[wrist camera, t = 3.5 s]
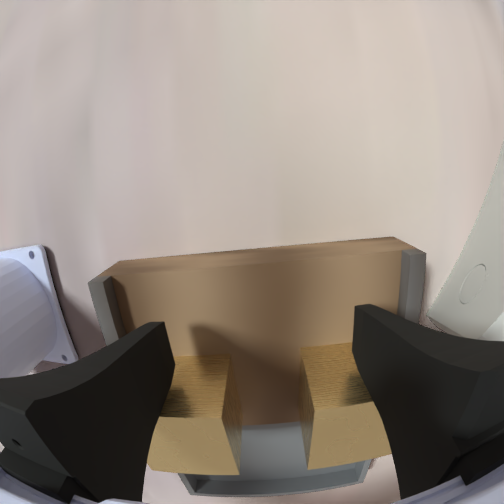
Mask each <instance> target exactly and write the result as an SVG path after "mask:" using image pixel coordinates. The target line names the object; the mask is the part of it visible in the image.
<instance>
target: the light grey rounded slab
mask: <svg viewBox="0 0 504 504" xmlns="http://www.w3.org/2000/svg"><path fill="white" fill-rule="evenodd" d="M426 315H427V317H428V318H429V319H430V320H431V321H432V322H433V323H434V324H435V325H436V326H437V327H438V328H440V329H441V330H443V331H444V332H446V333H448V334H450V335H454V336H459V337H465V338H471V339H477V340H487V341H504V141H503V144H502V148H501V152H500V155H499V159H498V162H497V165H496V168H495V171H494V174H493V177H492V180H491V183H490V186H489V189H488V192H487V194H486V197H485V200H484V202H483V205H482V207H481V210H480V212H479V215H478V217H477V219H476V222H475V224H474V226H473V229H472V231H471V233H470V235H469V237H468V240H467V242H466V244H465V246H464V248H463V250H462V252H461V254H460V256H459V258H458V260H457V262H456V264H455V266H454V268H453V270H452V271H451V273H450V275H449V277H448V279H447V281H446V282H445V284H444V286H443V288H442V289H441V291H440V293H439V295H438V296H437V298H436V300H435V301H434V303H433V304H432V306H431V308H430V309H429V311H428V313H427V314H426Z"/></svg>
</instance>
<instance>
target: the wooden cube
mask: <svg viewBox="0 0 504 504" xmlns="http://www.w3.org/2000/svg"><path fill="white" fill-rule="evenodd" d="M173 357H174V361H175V364H176V365H175V370H174V375H173V380H172V384H171V387H170V390H169V392H168V395H167V398H166V400H165V403H164V406H163V408H162V411H161V413H160V416H159V419H158V421H157V424H156V426H155V429H154V433H153V436H152V440H151V444H150V449H149V453H148V459H147V464H148V465H149V467H150V468H151V470H155V471H163V472H173V473H185V474H202V475H239V474H240V456H241V438H242V421H243V412H242V408H241V403H240V399H239V394H238V389H237V384H236V380H235V375H234V370H233V365H232V360H231V355H230V354H217V355H198V356H173Z"/></svg>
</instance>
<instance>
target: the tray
mask: <svg viewBox="0 0 504 504" xmlns="http://www.w3.org/2000/svg"><path fill="white" fill-rule="evenodd" d="M371 460H372V459H369V460H364V461H360V462H355V463H350V464H344V465H339V466H333V467H326V468H319V469H311V470H307V464H306V457H305V450H304V444H303V437H302V431H301V424H300V421H298V422H289V423H278V424H264V425H245V426H242V438H241V456H240V474H239V475H202V474H185V473H178V475H179V476H180V478H181V480H182V482H183V483H184V485H185V487H186V488H187V490H188V492H189V493H190V495H199V496H215V497H263V496H280V495H291V494H300V493H309V492H316V491H322V490H328V489H334V488H339V487H345V486H349V485H354V484H358V483H363V481H364V478H365V476H366V473H367V471H368V468H369V465H370V463H371Z"/></svg>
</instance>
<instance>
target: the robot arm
mask: <svg viewBox="0 0 504 504" xmlns="http://www.w3.org/2000/svg"><path fill="white" fill-rule="evenodd" d="M33 252H34V255H33ZM34 256H35V257H34ZM352 353H353V357H354V360H355V363H356V366H357V369H358V372H359V374H360V376H361V378H362V380H363V382H364V384H365V386H366V388H367V390H368V392H369V394H370V396H371V398H372V400H373V402H374V404H375V406H376V408H377V410H378V412H379V415H380V417H381V419H382V422H383V425H384V428H385V431H386V434H387V438H388V441H389V445H390V448H391V452H392V456H393V460H394V464H395V469H396V473H397V478H398V483H399V490H400V496H401V500H399V501H396V502H393V503H390V504H504V341H487V340H477V339H471V338H465V337H459V336H454V335H450V334H447V333H443V332H439V331H436V330H433V329H430V328H427V327H424V326H422V325H419V324H417V323H414V322H412V321H409V320H407V319H405V318H402V317H400V316H398V315H396V314H394V313H391V312H389V311H387V310H385V309H383V308H380V307H378V306H375V305H372V304H364V305H357V306H355V307H354V326H353V341H352ZM41 360H45V361H51V362H57V363H64V364H68V365H65V366H62V367H59V368H56V369H52V370H49V371H46V372H41V373H37V374H32V375H28V374H29V373H30V372H31V371H32V370H33V369H34V368H35V367H36V366H37V365H38V364H39V363H40V361H41ZM175 365H176V364H175V361H174V357H173V353H172V350H171V346H170V342H169V338H168V334H167V330H166V326H165V322H164V321H162V322H148V323H146V324H144V325H142V326H140V327H138V328H137V329H135V330H133V331H132V332H130V333H128V334H127V335H125V336H123V337H122V338H120V339H118V340H117V341H115V342H113V343H112V344H110V345H108V346H106V347H104V348H103V349H101V350H99V351H97V352H95V353H93V354H91V355H89V356H87V357H85V358H83V359H80V360H78V356H77V353H76V351H75V348H74V346H73V343H72V340H71V338H70V335H69V332H68V329H67V327H66V324H65V321H64V318H63V315H62V312H61V308H60V305H59V302H58V299H57V295H56V292H55V288H54V284H53V281H52V277H51V273H50V269H49V265H48V260H47V256H46V252H45V249H44V247H43V246H42V245H33V246H27V247H22V248H16V249H10V250H5V251H0V442H1V443H2V445H3V446H4V447H5V448H4V449H3V451H2V452H0V504H148V503H143V502H142V493H143V484H144V476H145V470H146V464H147V459H148V453H149V449H150V444H151V440H152V436H153V433H154V429H155V426H156V424H157V421H158V419H159V416H160V413H161V411H162V408H163V406H164V403H165V400H166V398H167V395H168V392H169V390H170V387H171V384H172V380H173V375H174V370H175Z"/></svg>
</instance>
